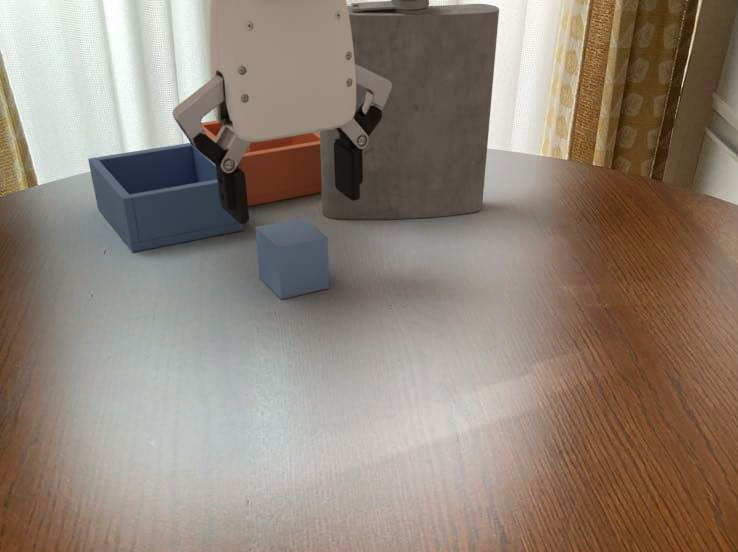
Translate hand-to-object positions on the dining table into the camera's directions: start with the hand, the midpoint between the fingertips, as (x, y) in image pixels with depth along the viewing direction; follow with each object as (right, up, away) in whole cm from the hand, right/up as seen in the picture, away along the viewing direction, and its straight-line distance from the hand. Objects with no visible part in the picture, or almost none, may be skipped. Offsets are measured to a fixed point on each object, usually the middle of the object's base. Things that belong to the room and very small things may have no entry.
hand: (294, 205), depth 74 cm
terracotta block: (-5, +11, +21) cm, 24 cm away
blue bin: (-13, +3, +13) cm, 19 cm away
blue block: (-1, -5, +4) cm, 7 cm away
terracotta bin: (-5, +10, +21) cm, 24 cm away
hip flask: (+9, +5, +17) cm, 19 cm away
